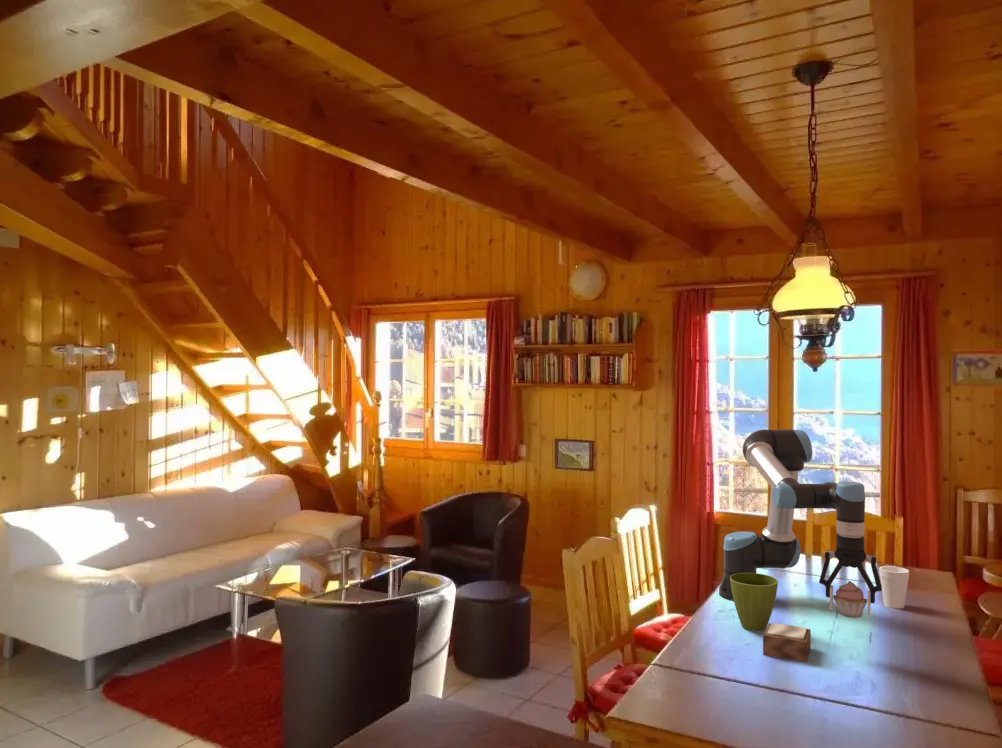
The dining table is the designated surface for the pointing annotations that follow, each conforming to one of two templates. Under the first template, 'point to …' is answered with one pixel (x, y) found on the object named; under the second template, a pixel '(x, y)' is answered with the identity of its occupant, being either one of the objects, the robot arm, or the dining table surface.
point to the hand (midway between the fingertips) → (849, 610)
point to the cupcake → (850, 600)
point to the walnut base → (787, 641)
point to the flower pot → (754, 599)
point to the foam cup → (894, 585)
